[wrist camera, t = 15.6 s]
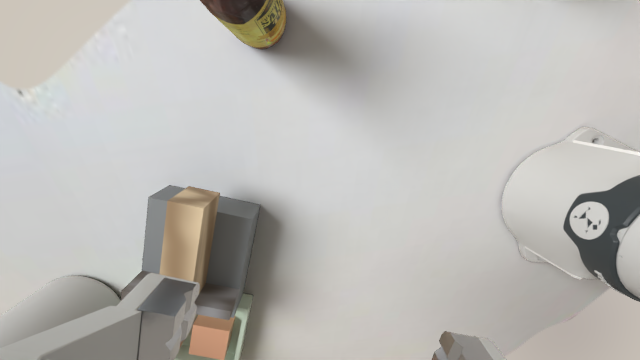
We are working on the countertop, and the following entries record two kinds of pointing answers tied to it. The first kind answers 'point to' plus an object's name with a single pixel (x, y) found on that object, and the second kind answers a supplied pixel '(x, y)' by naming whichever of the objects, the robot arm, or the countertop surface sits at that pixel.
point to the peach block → (211, 337)
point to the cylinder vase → (55, 307)
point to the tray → (237, 337)
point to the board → (227, 243)
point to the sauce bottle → (251, 19)
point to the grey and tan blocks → (192, 250)
